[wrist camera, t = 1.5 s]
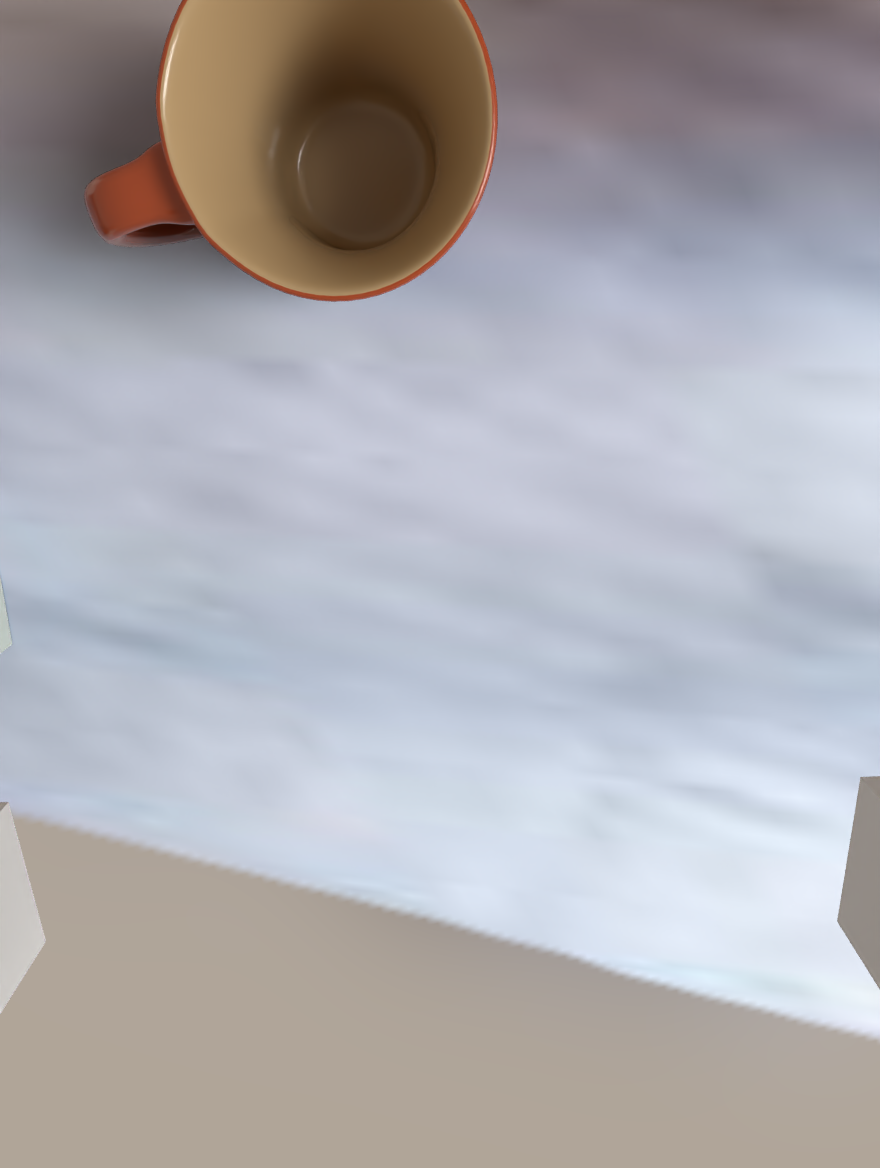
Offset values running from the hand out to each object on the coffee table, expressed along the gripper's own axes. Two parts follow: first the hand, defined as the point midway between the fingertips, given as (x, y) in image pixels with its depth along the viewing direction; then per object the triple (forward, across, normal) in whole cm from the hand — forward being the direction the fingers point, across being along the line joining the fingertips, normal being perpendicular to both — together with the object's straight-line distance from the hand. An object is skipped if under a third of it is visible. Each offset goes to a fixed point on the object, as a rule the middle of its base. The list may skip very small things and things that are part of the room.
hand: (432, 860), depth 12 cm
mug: (+23, -4, +12) cm, 27 cm away
